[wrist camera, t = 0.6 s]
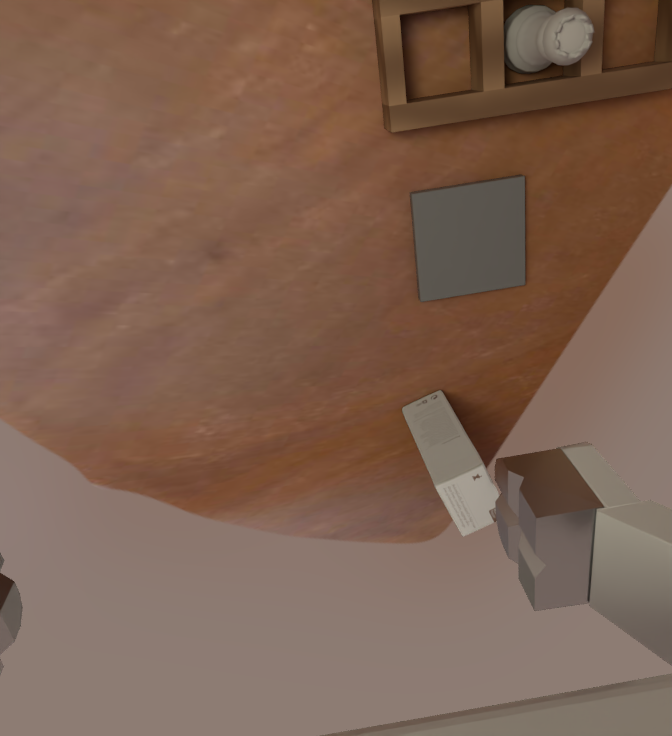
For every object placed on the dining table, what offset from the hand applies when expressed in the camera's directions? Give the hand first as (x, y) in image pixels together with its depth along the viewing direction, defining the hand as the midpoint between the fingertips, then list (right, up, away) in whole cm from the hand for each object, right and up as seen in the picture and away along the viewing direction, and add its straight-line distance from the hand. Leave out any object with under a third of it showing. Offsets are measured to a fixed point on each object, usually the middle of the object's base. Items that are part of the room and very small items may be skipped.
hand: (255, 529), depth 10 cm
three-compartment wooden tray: (+15, +27, +36) cm, 47 cm away
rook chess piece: (+15, +27, +36) cm, 47 cm away
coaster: (+12, +13, +42) cm, 46 cm away
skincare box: (+10, -2, +50) cm, 51 cm away
